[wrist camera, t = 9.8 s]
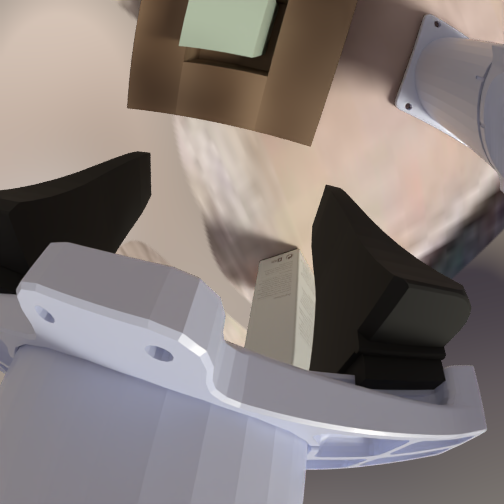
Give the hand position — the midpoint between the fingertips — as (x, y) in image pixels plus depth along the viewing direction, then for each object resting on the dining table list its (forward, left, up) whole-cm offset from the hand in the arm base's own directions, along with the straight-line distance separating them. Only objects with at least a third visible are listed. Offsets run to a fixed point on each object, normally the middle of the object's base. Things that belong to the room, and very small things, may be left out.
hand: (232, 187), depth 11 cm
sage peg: (+3, -7, -10) cm, 12 cm away
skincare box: (-6, +14, -11) cm, 18 cm away
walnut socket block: (+3, -6, -10) cm, 12 cm away
